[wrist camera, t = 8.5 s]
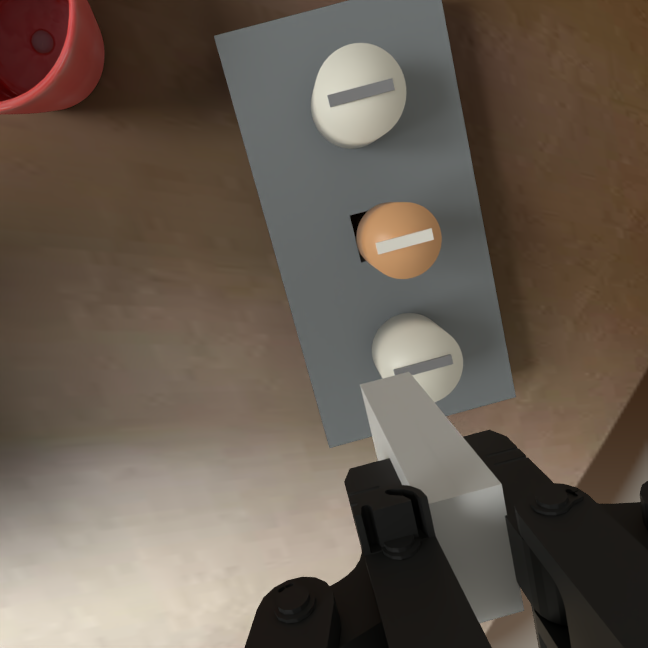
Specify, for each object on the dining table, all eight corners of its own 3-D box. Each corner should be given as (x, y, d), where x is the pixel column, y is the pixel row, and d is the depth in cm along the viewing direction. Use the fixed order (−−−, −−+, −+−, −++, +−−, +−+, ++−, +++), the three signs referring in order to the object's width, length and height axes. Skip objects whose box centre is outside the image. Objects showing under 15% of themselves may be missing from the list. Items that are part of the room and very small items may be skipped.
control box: (325, 425, 43) (329, 448, 39) (221, 53, 37) (213, 35, 33) (494, 379, 43) (515, 396, 39) (420, 1, 37) (437, -23, 33)
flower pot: (119, -45, 35) (58, -137, 25) (137, 134, 37) (87, 111, 28) (-52, -46, 34) (-181, -141, 25) (-23, 137, 37) (-130, 114, 27)
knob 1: (318, 162, 37) (328, 151, 30) (299, 86, 36) (304, 55, 28) (388, 143, 37) (415, 128, 30) (371, 67, 36) (395, 31, 29)
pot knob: (356, 269, 36) (376, 288, 29) (342, 211, 35) (358, 213, 28) (414, 254, 36) (449, 268, 29) (401, 195, 36) (434, 193, 28)
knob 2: (372, 375, 41) (392, 415, 33) (356, 312, 40) (374, 339, 32) (435, 357, 41) (471, 394, 33) (421, 295, 40) (455, 317, 32)
